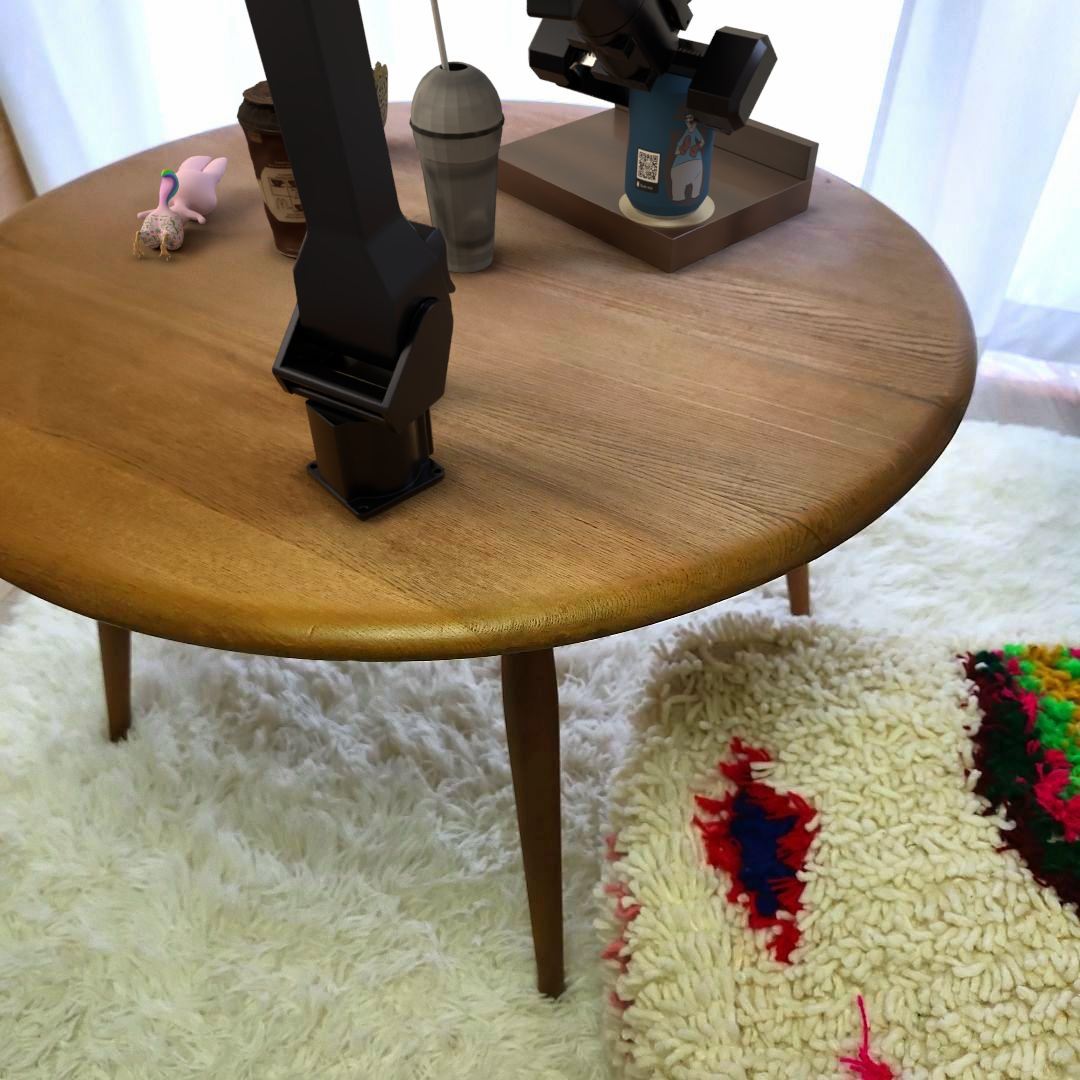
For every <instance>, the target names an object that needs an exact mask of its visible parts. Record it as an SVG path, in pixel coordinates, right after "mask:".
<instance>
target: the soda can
mask: <svg viewBox="0 0 1080 1080" xmlns="http://www.w3.org/2000/svg"><path fill="white" fill-rule="evenodd" d="M691 81H692V79H689V78H685V77H681V76H677V75H673V74H669V73H664V74H663V75H662V76H661V77H660V78H657V79H656V81H655V83H654V85H653V87H652V89H651V91H650V93H649V92H645V91H641V90H638V89H634V88H630V92H629V111H628V130H627V150H626V169H625V193H626V195H627V197H628V199H629V201H630V203H631V205H632V206H633V208H634V209H635V210H636V211H637V212H638V213H640V214H642V215H645V216H648V217H651V218H657V219H678V218H683V217H687V216H689V215H691V214H693V213H694V212H696V210H697V209H698V208H699V207H700V205H701V204H702V203H703V201H704V200H705V198H706V197H707V194H708V190H709V181H710V171H711V162H712V152H713V143H714V133H715V131H714V130H711V129H709V128H706V127H704V126H701V125H698V124H695V123H693V122H692V120H693V118H694V117H693V116H691V115H690V113H689V112H688V110H687V108H686V103H687V91H688V87H689V85H690V83H691Z"/></svg>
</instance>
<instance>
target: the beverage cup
mask: <svg viewBox="0 0 1080 1080" xmlns="http://www.w3.org/2000/svg"><path fill="white" fill-rule="evenodd" d="M429 1H430V6H431V12H432V17H433V23H434V29H435V36H436V41H437V46H438V51H439V59H440V64H438V65H436V66H434V67H433V68H431V69H430V70H429V71H428V72H426V74H424V76H422V78H421V79H420V81H419V83H417V86H416V88H415V91H414V93H413V96H412V100H411V104H410V105H411V107H410V117H409V121H408V122H409V123H408V124H409V126H410V128H411V130H412V135H413V139H414V144H415V146H416V149H417V152H418V154H419V161H420V165H421V171H422V176H423V182H424V188H425V194H426V200H427V206H428V212H429V218H430V223H431V224H430V225H431V226H433V227H436V228H439V229H440V230H441V233H442V235H443V237H444V239H445V241H446V245H447V263H448V271H449V272H453V273H458V274H459V273H460V274H461V273H462V274H468V273H475V272H479V271H481V270H482V271H483V270H484V269H487V268H488V267H489V266H491V264H492V263H493V260H494V259H493V253H494V244H495V236H496V235H495V234H496V215H497V213H496V211H497V195H498V193H497V191H498V188H497V173H498V152H499V149H500V146H501V144H502V137H503V136H502V135H503V130H504V129H503V128H504V125H505V122H506V121H505V120H506V118H505V114H504V112H503V106H502V105H503V104H502V101H501V98H500V95H499V92H498V91H497V89H496V87H495V85H494V84H493V82H492V81H491V79H490V78H489V77H488V76H487V75H486V74H485V73H484V72H483V71H482V70H481V69H479V68H478V67H476V66H474V65H472V64H470V63H467V62H463V61H448V60H449V59H448V54H447V49H446V43H445V38H444V37H445V36H444V31H443V25H442V20H441V14H440V9H439V8H440V7H439V2H438V0H429Z"/></svg>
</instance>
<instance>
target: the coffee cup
mask: <svg viewBox="0 0 1080 1080" xmlns="http://www.w3.org/2000/svg"><path fill="white" fill-rule="evenodd" d="M242 97H243V100H242V102H241V103H240V104H239V106H238V109H237V114H236V119H237V122H238V124H239V125H240V127H241V129H242V131H243V134H244V137H245V140H246V144H247V148H248V153H249V158H250V160H251V162H252V163H251V164H252V168H253V170H254V175H255V179H256V181H257V183H258V186H259V189H260V192H261V196H262V202H263V207H264V208H263V209H264V212H265V213H264V214H265V215H266V219H267V221H268V223H269V226H270V229H271V232H272V236H273V240H274V241H273V242H274V246H275V248H276V251H277V252H278V253H280V254H282V255H284V256H287V257H291V258H297V256H298V253H299V251H300V248H301V245H302V243H303V240H304V237H305V234H306V232H307V226H306V220H305V216H304V213H303V209H302V206H301V202H300V198H299V195H298V191H297V188H296V184H295V180H294V177H293V173H292V170H291V166H290V162H289V159H288V155H287V152H286V148H285V144H284V141H283V137H282V134H281V130H280V126H279V123H278V119H277V116H276V112H275V108H274V105H273V101H272V98H271V94H270V90H269V87H268V83H267V80H266V79H265V80H261V81H259V82H257V83H255V84H254V85H253V86H250V87H248V88H246V89H244V90H243V92H242Z"/></svg>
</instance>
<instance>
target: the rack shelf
mask: <svg viewBox="0 0 1080 1080" xmlns="http://www.w3.org/2000/svg"><path fill="white" fill-rule="evenodd" d="M628 111H629V108H626V107H623V106H620V105H617V104H614V107H612V108H609V109H606V110H602V111H600V112H596V113H594V114H591V115H588V116H585V117H582V118H579V119H576V120H573V121H570V122H567V123H564V124H561V125H559V126H558V125H557V126H556V127H552V128H550V129H547V130H543V131H541V132H537V133H535V134H532V135H528V136H526V137H523V138H520V139H517V140H514V141H512V142H509V143H505V144H502V145H500V149H499V152H498V173H497V190H501V191H502V192H504V193H506V194H508V195H510V196H513V197H514V198H517V199H518V200H521V201H524V202H525V203H526V204H529V205H531V206H533V207H535V208H537V209H539V210H541V211H543V212H545V213H547V214H549V215H551V216H552V217H555V218H557V219H560V220H561V221H564V223H565V222H566V223H567V224H569V225H571V226H573V227H575V228H577V229H578V230H579V229H580V230H581V231H584V232H585V233H588V234H589V235H591V236H593V237H595V238H597V239H599V240H602V241H604V242H605V243H608V244H610V245H612V246H614V247H615V248H618V249H620V250H622V251H624V252H626V253H628V254H630V255H632V256H634V257H636V258H638V259H640V260H642V261H644V262H646V263H648V264H650V265H652V266H653V267H656V268H658V269H660V270H662V271H663V272H666V273H669V274H671V273H673V272H675V271H678V270H680V269H682V268H685V267H686V266H688V265H691V264H693V263H695V262H697V261H699V260H702V259H704V258H706V257H709V256H710V255H712V254H714V253H717V252H718V251H719V252H720V251H721V250H723V249H724V248H728V247H729V246H731V245H734V244H736V243H738V242H740V241H742V240H744V239H746V238H749V237H751V236H753V235H755V234H758V233H759V232H762V231H764V230H766V229H768V228H770V227H773V226H774V225H777V224H779V223H781V222H783V221H786V220H788V219H790V218H792V217H794V216H796V215H798V214H801V213H804V211H807V210H808V208H809V203H810V198H811V192H812V186H813V180H814V177H815V176H814V175H815V169H816V165H817V158H818V153H819V147H820V143H819V142H816V141H814V140H811V139H808V138H806V137H803V136H799V135H797V134H795V133H791V132H788V131H785V130H784V129H780V128H778V127H774V126H772V125H769V124H767V123H763V122H761V121H758V120H755V119H752V118H750V117H749V119H748V121H747V123H746V125H745V126H744V127H742V128H740V129H739V130H737V131H735V132H734V131H732V133H731V135H730V136H728V135H725V134H722V133H719V132H716V131H715V133H714V143H713V152H712V162H711V171H710V181H709V190H708V194H707V197H706V198H705V200H704V201H703V203H702V204H701V205H700V207H699V208H698V209H697V210H696V212H694V213H693V214H691V215H689V216H687V217H683V218H678V219H657V218H651V217H648V216H645V215H642V214H640V213H638V212H637V211H636V210H635V209H634V208H633V206H632V205H631V203H630V201H629V199H628V197H627V195H626V193H625V169H626V150H627V130H628Z"/></svg>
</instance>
